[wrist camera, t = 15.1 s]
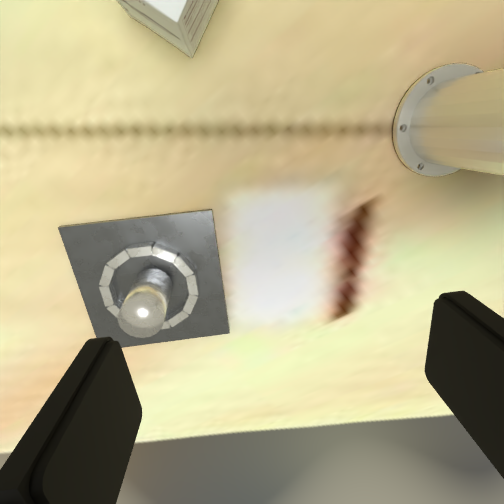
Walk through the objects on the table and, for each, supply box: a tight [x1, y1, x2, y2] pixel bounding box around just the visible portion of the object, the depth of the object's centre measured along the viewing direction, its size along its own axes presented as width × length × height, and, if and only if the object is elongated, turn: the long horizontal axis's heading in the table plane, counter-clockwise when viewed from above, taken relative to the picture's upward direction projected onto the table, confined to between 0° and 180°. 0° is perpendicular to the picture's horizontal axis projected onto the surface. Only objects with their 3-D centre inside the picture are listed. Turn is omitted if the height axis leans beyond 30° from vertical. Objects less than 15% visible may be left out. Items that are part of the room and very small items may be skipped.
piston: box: [118, 269, 172, 338], centre depth 38 cm, size 5×5×8 cm
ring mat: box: [58, 209, 230, 348], centre depth 41 cm, size 19×19×2 cm
